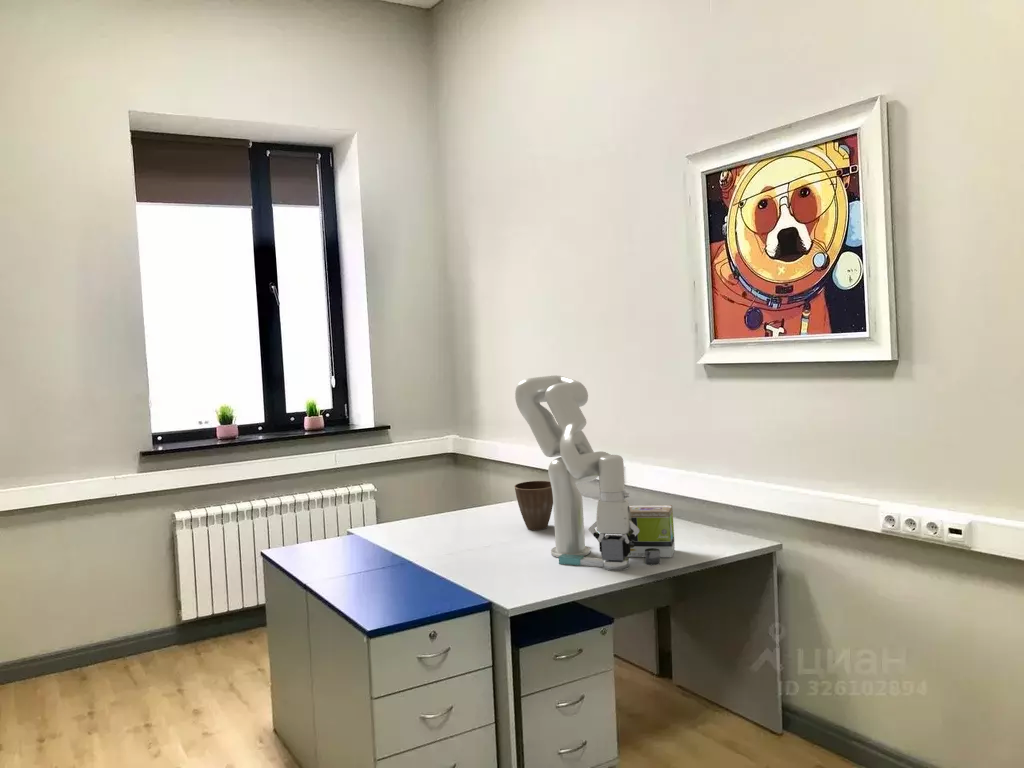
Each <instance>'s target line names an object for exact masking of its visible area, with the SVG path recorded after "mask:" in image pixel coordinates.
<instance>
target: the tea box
mask: <svg viewBox="0 0 1024 768" xmlns="http://www.w3.org/2000/svg"><path fill="white" fill-rule="evenodd" d="M629 507H630V513H631V521H632V523H634V524H635V525H636V526H637V527H638V528H639V529H640V532H639V533H638V534H637V535H636V536H635V537H634V538H633V539H632V540H631V541H630V553H629V554H628V556H627V557H628V558H630V557H631V558H645V550H646V549H649V548H656V549H659V550H660V558H672V557H673V555H674V552H675V548H676V547H675V529H674V513H673V504H672V505H671V504H668V505H667V504H665V505H664V504H662V505H661V504H659V505H658V504H657V505H656V504H655V505H653V504H652V505H651V504H650V505H639V504H638V505H637V504H636V505H630V504H629ZM633 532H634V531H633V530H632V529H631V530H630V531H629V535H631V534H632V533H633Z"/></svg>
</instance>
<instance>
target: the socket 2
mask: <svg viewBox="0 0 1024 768" xmlns="http://www.w3.org/2000/svg"><path fill="white" fill-rule="evenodd" d="M644 559H645V560H644V561H645V564H646V565H648V566H658V565H660V564H661V557H660V550H659V549H656V548H649V549H646V550H645V557H644Z"/></svg>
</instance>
